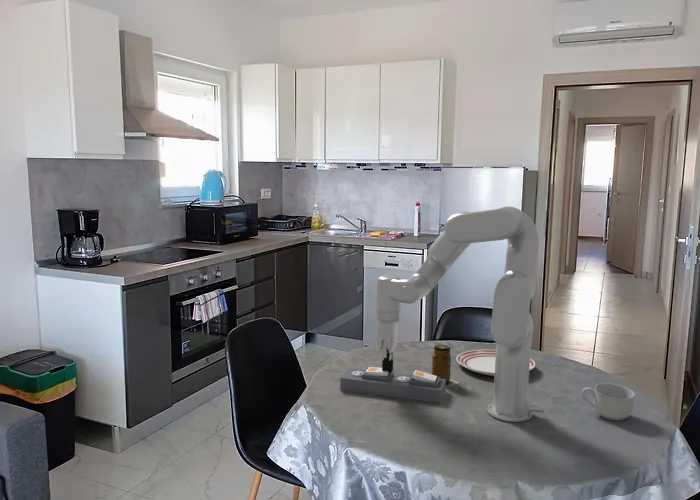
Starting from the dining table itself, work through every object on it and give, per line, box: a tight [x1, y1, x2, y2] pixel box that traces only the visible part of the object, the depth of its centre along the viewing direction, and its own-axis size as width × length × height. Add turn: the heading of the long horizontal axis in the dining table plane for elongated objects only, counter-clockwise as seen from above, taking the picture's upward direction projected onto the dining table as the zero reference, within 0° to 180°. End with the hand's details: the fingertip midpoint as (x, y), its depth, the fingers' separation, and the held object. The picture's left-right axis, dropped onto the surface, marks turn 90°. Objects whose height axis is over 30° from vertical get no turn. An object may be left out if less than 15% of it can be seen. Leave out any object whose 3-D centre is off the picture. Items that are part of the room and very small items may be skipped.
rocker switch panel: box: [339, 367, 447, 404], centre depth 183 cm, size 32×10×5 cm, turn 73°
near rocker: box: [412, 369, 437, 383], centre depth 180 cm, size 7×4×1 cm, turn 73°
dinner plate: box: [455, 348, 536, 377], centre depth 207 cm, size 28×27×3 cm
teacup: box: [581, 382, 636, 421], centre depth 167 cm, size 14×11×8 cm
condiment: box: [431, 343, 460, 388], centre depth 191 cm, size 7×8×12 cm
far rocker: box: [365, 366, 389, 376], centre depth 184 cm, size 7×4×1 cm, turn 73°
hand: (387, 371), depth 184 cm, fingers closed
